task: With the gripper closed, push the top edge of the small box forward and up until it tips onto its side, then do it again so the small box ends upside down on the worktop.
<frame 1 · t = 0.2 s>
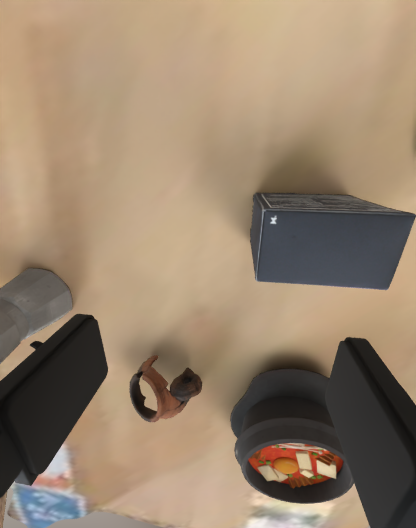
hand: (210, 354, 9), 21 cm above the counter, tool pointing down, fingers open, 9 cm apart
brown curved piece: (175, 371, 39), on the counter
casserole: (285, 413, 39), on the counter
coffeepot: (53, 296, 36), on the counter
small box: (296, 221, 27), on the counter
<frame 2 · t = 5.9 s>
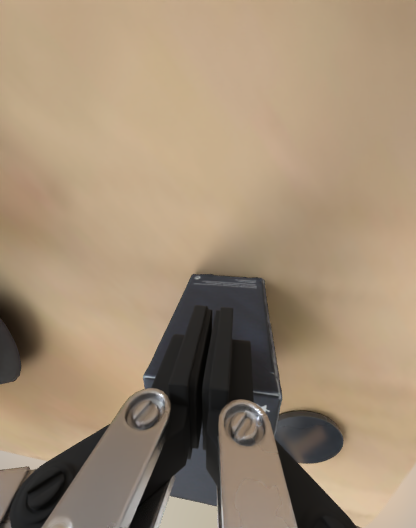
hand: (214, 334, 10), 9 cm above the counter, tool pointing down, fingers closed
slate coaster: (302, 435, 25), on the counter
small box: (223, 324, 21), on the counter, touching gripper
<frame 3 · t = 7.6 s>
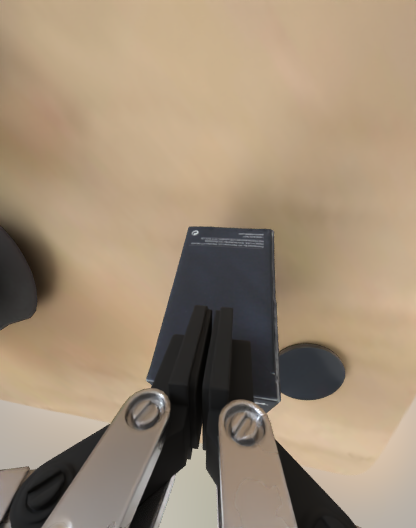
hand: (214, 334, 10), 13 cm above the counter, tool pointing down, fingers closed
slate coaster: (305, 370, 26), on the counter
small box: (228, 268, 20), point 2 cm above the counter, touching gripper
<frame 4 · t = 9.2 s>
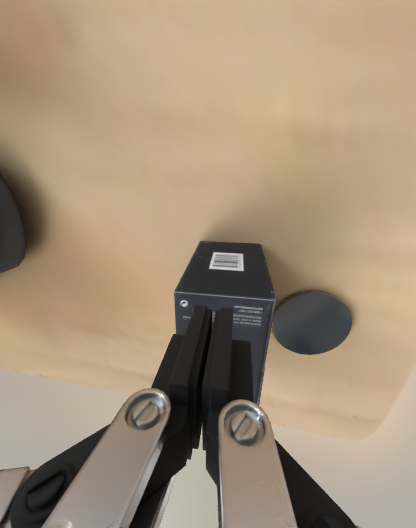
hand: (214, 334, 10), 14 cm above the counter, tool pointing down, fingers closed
slate coaster: (309, 322, 25), on the counter
small box: (225, 258, 18), point 5 cm above the counter
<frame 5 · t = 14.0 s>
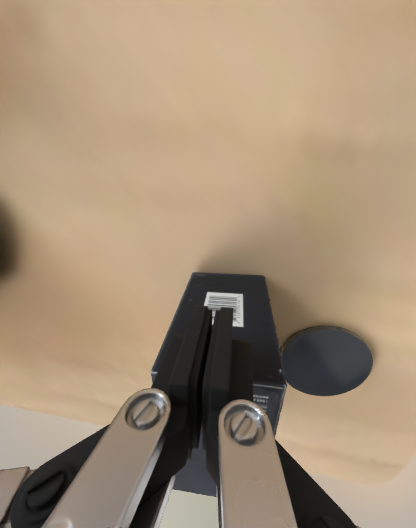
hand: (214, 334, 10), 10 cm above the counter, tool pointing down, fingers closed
slate coaster: (322, 360, 22), on the counter
small box: (221, 306, 14), point 6 cm above the counter, touching gripper
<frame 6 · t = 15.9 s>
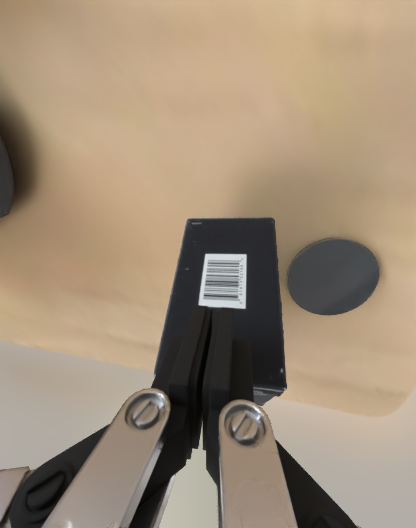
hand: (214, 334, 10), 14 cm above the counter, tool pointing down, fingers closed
slate coaster: (329, 277, 22), on the counter
small box: (221, 280, 13), point 10 cm above the counter, touching gripper
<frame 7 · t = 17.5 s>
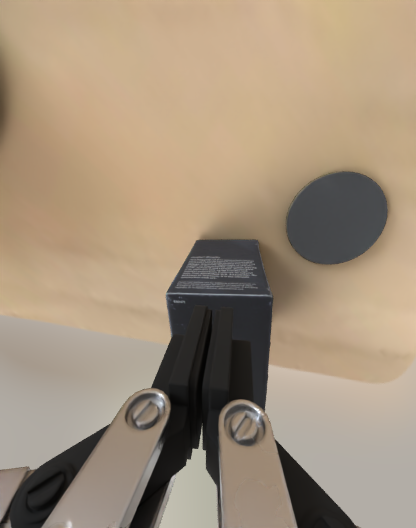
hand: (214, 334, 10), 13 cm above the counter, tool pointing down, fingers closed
slate coaster: (332, 220, 20), on the counter
small box: (217, 367, 14), point 11 cm above the counter
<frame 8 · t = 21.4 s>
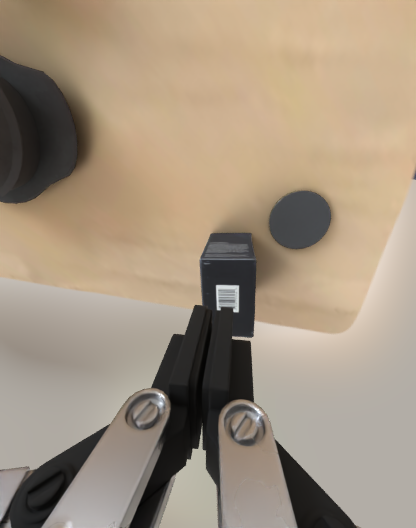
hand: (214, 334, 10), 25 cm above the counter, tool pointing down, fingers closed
slate coaster: (298, 220, 32), on the counter
casserole: (5, 135, 33), on the counter
small box: (226, 302, 26), point 11 cm above the counter
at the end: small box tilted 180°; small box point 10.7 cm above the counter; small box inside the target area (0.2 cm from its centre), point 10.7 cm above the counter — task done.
